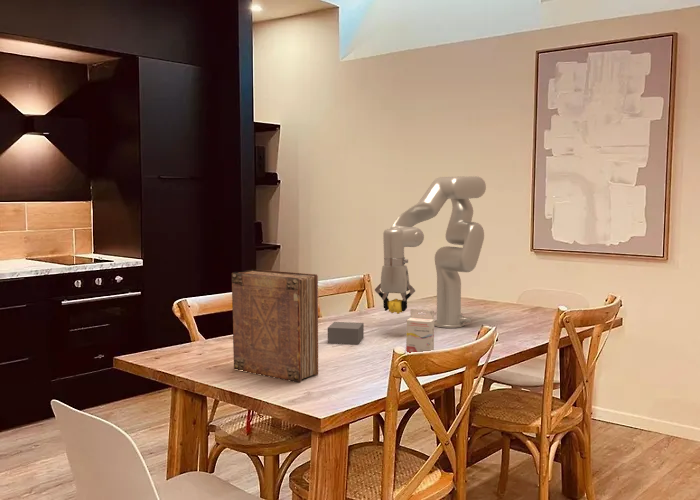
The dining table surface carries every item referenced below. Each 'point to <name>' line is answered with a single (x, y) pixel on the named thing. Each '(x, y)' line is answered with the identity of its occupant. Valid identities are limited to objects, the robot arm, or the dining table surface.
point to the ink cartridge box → (420, 331)
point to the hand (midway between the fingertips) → (395, 309)
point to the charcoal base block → (345, 333)
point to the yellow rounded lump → (395, 306)
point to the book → (275, 323)
